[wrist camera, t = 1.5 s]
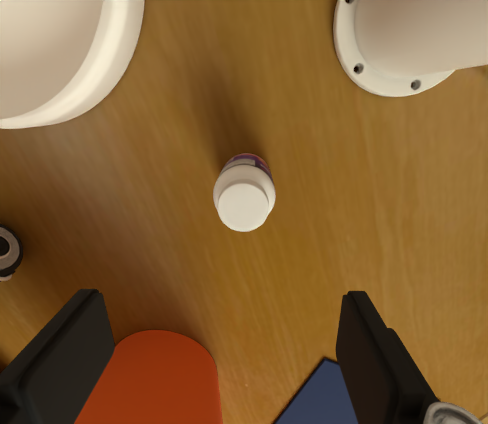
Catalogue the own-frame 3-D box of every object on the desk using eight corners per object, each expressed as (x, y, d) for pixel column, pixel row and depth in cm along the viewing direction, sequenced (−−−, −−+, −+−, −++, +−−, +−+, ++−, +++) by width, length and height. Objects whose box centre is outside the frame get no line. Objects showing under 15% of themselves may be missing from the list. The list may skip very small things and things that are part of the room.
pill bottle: (275, 195, 31) (283, 234, 22) (228, 204, 32) (217, 245, 22) (266, 147, 29) (271, 167, 20) (216, 157, 30) (199, 181, 21)
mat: (324, 357, 39) (324, 360, 39) (440, 401, 42) (442, 404, 41) (263, 437, 46) (263, 439, 46) (366, 470, 49) (367, 473, 48)
